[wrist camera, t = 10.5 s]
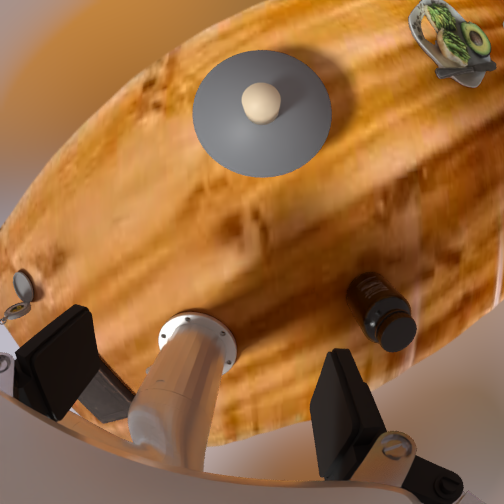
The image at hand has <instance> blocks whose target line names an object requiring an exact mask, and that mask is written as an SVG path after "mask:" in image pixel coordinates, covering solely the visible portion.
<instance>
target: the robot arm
mask: <svg viewBox="0 0 504 504" xmlns="http://www.w3.org/2000/svg"><path fill="white" fill-rule="evenodd" d="M223 331H224V332H223ZM158 340H159V348H160V352H159V354H158V356H157V358H156V359H155V361H154V363H153V365H151V366H150V367H148V368H147V369H146V373H147V375H146V377H145V379H144V381H143V383H142V385H141V386H140V388H139V390H138V392H137V394H136V395H135V397H134V399H133V401H132V403H131V405H130V407H129V411H128V426H129V431H130V434H131V437H132V440H133V443H131V442H129V441H127V440H123V439H121V438H119V437H117V436H115V435H113V434H111V433H109V432H108V431H106V430H104V429H102V428H100V427H98V426H96V425H95V424H93V423H91V422H89V421H88V420H86V419H84V418H82V417H81V416H79V415H77V414H75V413H73V412H71V411H69V410H70V408H71V407H72V406H73V404H74V403H75V402H76V400H77V399H78V398H79V396H80V395H81V394H82V392H83V391H84V390H85V388H86V387H87V386H88V384H89V383H90V382H91V380H92V379H93V378H94V376H95V375H96V374H97V373H98V371H99V369H100V360H99V355H98V350H97V344H96V339H95V332H94V326H93V319H92V314H91V312H89V309H88V308H87V307H84V306H80V305H77V304H75V305H73V306H72V307H70V308H69V309H68V310H66V311H65V312H64V313H63V314H61V315H60V316H59V317H57V318H56V319H55V320H54V321H52V322H51V323H50V324H48V325H47V326H46V327H45V328H43V329H42V330H41V331H40V332H39V333H37V334H36V335H35V336H34V337H32V338H31V339H30V340H29V341H28V342H26V343H25V344H24V345H23V346H22V347H20V348H19V349H18V350H17V351H16V352H15V354H16V357H17V359H16V360H14V359H13V357H12V356H11V355H10V354H8V353H0V504H485V503H484V502H483V501H481V500H480V499H479V498H478V497H476V496H475V495H474V494H472V493H471V492H470V491H467V492H466V493H465V492H464V491H463V488H464V487H463V482H462V479H461V478H460V477H459V476H458V475H457V474H456V473H454V472H452V471H450V470H447V469H445V468H442V467H440V466H438V465H436V464H434V463H432V462H429V461H427V460H425V459H423V458H421V457H419V456H416V451H417V448H416V444H415V442H414V440H413V439H412V438H411V437H410V436H408V435H407V434H405V433H403V432H399V431H388V432H387V430H386V428H385V425H384V423H383V420H382V418H381V415H380V413H379V410H378V408H377V406H376V404H375V401H374V398H373V396H372V394H371V391H370V389H369V387H368V385H367V383H365V382H363V380H362V378H361V375H360V373H359V371H358V368H357V366H356V364H355V361H354V359H353V357H352V355H351V352H350V350H349V349H339V348H334V349H333V350H332V352H328V353H327V356H326V359H325V362H324V365H323V368H322V371H321V374H320V377H319V380H318V382H317V385H316V388H315V391H314V394H313V396H312V399H311V402H310V414H311V420H312V427H313V433H314V440H315V447H316V454H317V461H318V467H319V475H320V477H324V479H325V481H284V480H266V479H253V478H242V477H234V476H226V475H219V474H213V473H206V472H203V469H204V459H205V451H206V446H207V441H208V436H209V431H210V427H211V423H212V418H213V413H214V409H215V404H216V400H217V395H218V391H219V386H220V382H221V377H222V375H223V374H225V373H226V372H228V371H229V370H230V369H231V368H232V366H233V364H234V363H235V359H236V355H237V345H236V341H235V338H234V337H233V335H232V333H231V332H230V330H229V329H228V328H227V327H226V326H225V325H224V324H223V323H221V322H220V321H219V320H217V319H215V318H214V317H211V316H209V315H206V314H202V313H198V312H185V313H180V314H177V315H175V316H173V317H171V318H170V319H169V320H168V321H166V323H165V324H164V325H163V327H162V329H161V331H160V333H159V338H158Z"/></svg>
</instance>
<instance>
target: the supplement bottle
mask: <svg viewBox="0 0 504 504" xmlns="http://www.w3.org/2000/svg"><path fill="white" fill-rule="evenodd" d="M346 300H347V304H348V306H349V308H350V310H351V312H352V314H353V315H354V317H355V319H356V321H357V322H358V324H359V326H360V328H361V329H362V331H363V333H364V334H365V336H366V337H367V338H368V339H369V340H371V341H372V342H375V343H379V344H380V345H381V347H382V348H383V349H384V350H386V351H388V352H397V351H400V350H402V349H404V348H405V347H407V346H408V345H409V344H410V343H411V342H412V340H413V339H414V336H415V334H416V329H417V328H416V323H415V321H414V319H413V318H412V317H411V307H410V305H409V303H408V301H407V300H406V299H405V298H404V297H403V296H402V295H401V294H400V293H399V292H398V291H397V290H396V289H395V288H394V287H393V286H392V285H391V284H390V283H389V282H388V281H387V280H386V279H385V278H384V277H383V276H381V275H380V274H378V273H373V272H369V273H364V274H362V275H360V276H358V277H357V278H355V279H354V280H353V282H352V283H351V284H350V286H349V288H348V290H347V295H346Z"/></svg>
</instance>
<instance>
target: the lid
mask: <svg viewBox="0 0 504 504" xmlns="http://www.w3.org/2000/svg"><path fill="white" fill-rule="evenodd" d="M331 119H332V110H331V103H330V99H329V96H328V93H327V91H326V88H325V86H324V85H323V83H322V81H321V80H320V78H319V77H318V76H317V75H316V74H315V72H314V71H313V70H311V69H310V68H309V67H308V66H307V65H305V64H304V63H303V62H301V61H300V60H298V59H296V58H294V57H292V56H289V55H287V54H284V53H280V52H275V51H268V50H256V51H248V52H244V53H240V54H237V55H234V56H232V57H230V58H228V59H226V60H224V61H223V62H221V63H220V64H218V65H217V66H216V67H214V68H213V69H212V70H211V71H210V72H209V73H208V74H207V76H206V77H205V78H204V80H203V81H202V83H201V84H200V86H199V88H198V90H197V93H196V96H195V99H194V104H193V124H194V128H195V132H196V134H197V137H198V139H199V141H200V143H201V145H202V146H203V148H204V149H205V150H206V152H207V153H208V154H209V155H210V156H211V157H212V158H213V159H214V160H215V161H216V162H218V163H219V164H220V165H222V166H224V167H225V168H227V169H229V170H231V171H233V172H236V173H238V174H242V175H245V176H251V177H275V176H279V175H284V174H286V173H289V172H292V171H294V170H296V169H298V168H300V167H301V166H303V165H304V164H306V163H307V162H309V161H310V160H311V159H312V158H313V157H314V156H315V155H316V154H317V153H318V151H319V150H320V149H321V147H322V146H323V144H324V143H325V140H326V138H327V136H328V133H329V130H330V126H331Z"/></svg>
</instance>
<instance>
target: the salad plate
mask: <svg viewBox="0 0 504 504" xmlns="http://www.w3.org/2000/svg"><path fill="white" fill-rule="evenodd" d="M424 15H426V16H427V19H428V21H429V22H430V24H431V25H432V26H433V28H434V29H435V31H436V33H437V40H435V42H436V45H433V44H432V43H430V42H429V41H427V40H426V39H425V38H424V35H423V33H422V29H421V20H422V18H423V16H424ZM408 22H409V28H410V30H411V33H412V35H413V37H414V39H415V40H416V41H417V43H418V44H419V45H420V47H421V48H422V49H423V51H424V52H425V53H426V54H427V55H428V56H429V57H430V58H431V59H432V60H433V61H434V62H435V63H436V64H437V65H438V67H439V68H436V70H435V73H436V75H437V77H438V78H440V79H444V78H448V77H450V78H452V79H454V80H455V81H457V82H458V83H459V84H461V85H464V86H467V87H472V88H474V87H477V86H478V85H479V84H480V83H481V81H482V79H483V77H484V75H485V72H486V71H493V70H495V69H496V63H495V62H493V61H492V60H491V58H490V52H491V44H490V41H489V39H488V37H487V36H486V34H485V33H484V32H483V31H482V30H481V29H480V28H479V27H478V26H477V25H476V24H474V23H471V22H470V21H469V22H466V21H465V20H464V19H463V18H462V16H461V15H459V14H458V12H457V11H456V10H455V9H454V8H452V7H451V6H450V5H449V4H448V3H446V2H445V1H443V0H421V1H420V2H419V4H418V5H417V6H416V7H415V8H414V9H413V11H412V12H411V14H410V15H409V17H408Z"/></svg>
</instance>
